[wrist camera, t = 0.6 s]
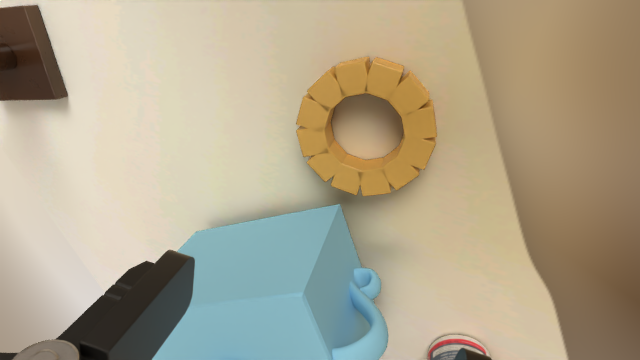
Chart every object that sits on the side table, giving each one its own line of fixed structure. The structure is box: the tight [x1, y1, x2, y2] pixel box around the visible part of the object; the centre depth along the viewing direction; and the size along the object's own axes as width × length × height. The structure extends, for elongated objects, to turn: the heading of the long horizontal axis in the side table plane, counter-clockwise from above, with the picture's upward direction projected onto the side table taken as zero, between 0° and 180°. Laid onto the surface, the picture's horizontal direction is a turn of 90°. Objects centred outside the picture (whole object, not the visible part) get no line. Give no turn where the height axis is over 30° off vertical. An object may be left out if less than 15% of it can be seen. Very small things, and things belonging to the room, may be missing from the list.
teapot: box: [152, 204, 388, 360], centre depth 30 cm, size 22×11×14 cm, turn 109°
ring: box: [296, 57, 437, 196], centre depth 28 cm, size 9×9×2 cm
